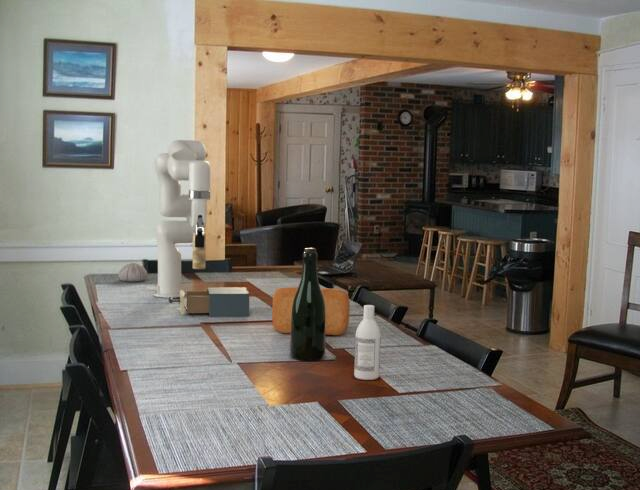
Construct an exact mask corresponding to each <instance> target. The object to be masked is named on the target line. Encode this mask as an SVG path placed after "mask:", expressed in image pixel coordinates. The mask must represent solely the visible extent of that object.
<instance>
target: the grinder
mask: <svg viewBox="0 0 640 490" xmlns="http://www.w3.org/2000/svg"><path fill="white" fill-rule="evenodd" d="M195 236H196V232H193V243H192V270H204V269H206V266H207V265H206V263H207V262H206V260H207V259H206V256H207V254H206V251H207V247H206V246H207V242H206V241H207V232H206V231H204V247H195Z"/></svg>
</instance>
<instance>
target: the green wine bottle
mask: <svg viewBox="0 0 640 490" xmlns="http://www.w3.org/2000/svg"><path fill="white" fill-rule="evenodd" d="M318 258H319V256H318V252H317V248H315V247H305V248H304V251H303V253H302V270H301V276H300V281H299V285H298V286H297V287H298V289H297V292H296V294H295V297H294V300H293V304H292V316H291V333H290V340H289V341H290V342H289V344H290V345H289V355H290V357H291V358H292V359H294V360H298V361H303V362H308V361H309V362H313V361H314V362H315V361H318V360H319V361H320V360H322V359H323V358H324V357H325V356H326V335H325V319H326V315H325V302H324V297H323V294H322V292H321V289H320V288H321V286H320V283H319V282H320V281H319V277H318V276H319V275H318Z"/></svg>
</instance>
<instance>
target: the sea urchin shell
mask: <svg viewBox="0 0 640 490" xmlns="http://www.w3.org/2000/svg"><path fill="white" fill-rule="evenodd" d="M117 277H118V279H119V281H122V282H133V283H136V282H144V281H146V280H147V279H148V277H149V274H148V271H147V269H146V268H145V267H144V266H143V265H141V264H139V263H135V262H134V263H132V262H131V263H128V264H127V263H126V264H125V265H123V267H122V268H120V270H119V271H118V275H117Z"/></svg>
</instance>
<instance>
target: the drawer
mask: <svg viewBox="0 0 640 490" xmlns="http://www.w3.org/2000/svg"><path fill="white" fill-rule="evenodd" d="M184 293H185V292H184V290H183V289H181V290H180V297H176V298H172V297H169V298H168V302H169V304H173V303H179V311H180V315H185V295H184ZM186 310H187V311H186V312H187V314H208V313H209V293H208V291H207V290H187V291H186Z"/></svg>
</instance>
